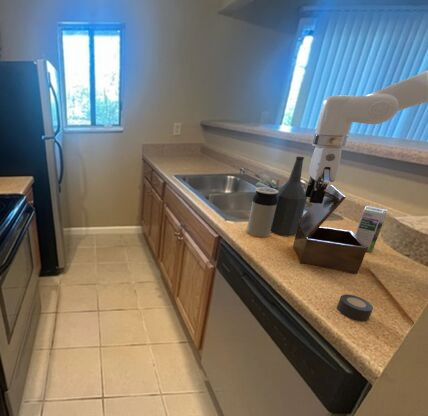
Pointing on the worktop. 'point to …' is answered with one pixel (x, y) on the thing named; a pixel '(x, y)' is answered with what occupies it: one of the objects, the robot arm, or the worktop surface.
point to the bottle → (290, 203)
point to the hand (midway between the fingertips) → (313, 199)
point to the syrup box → (370, 226)
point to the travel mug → (262, 212)
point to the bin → (330, 249)
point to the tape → (355, 307)
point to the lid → (320, 211)
